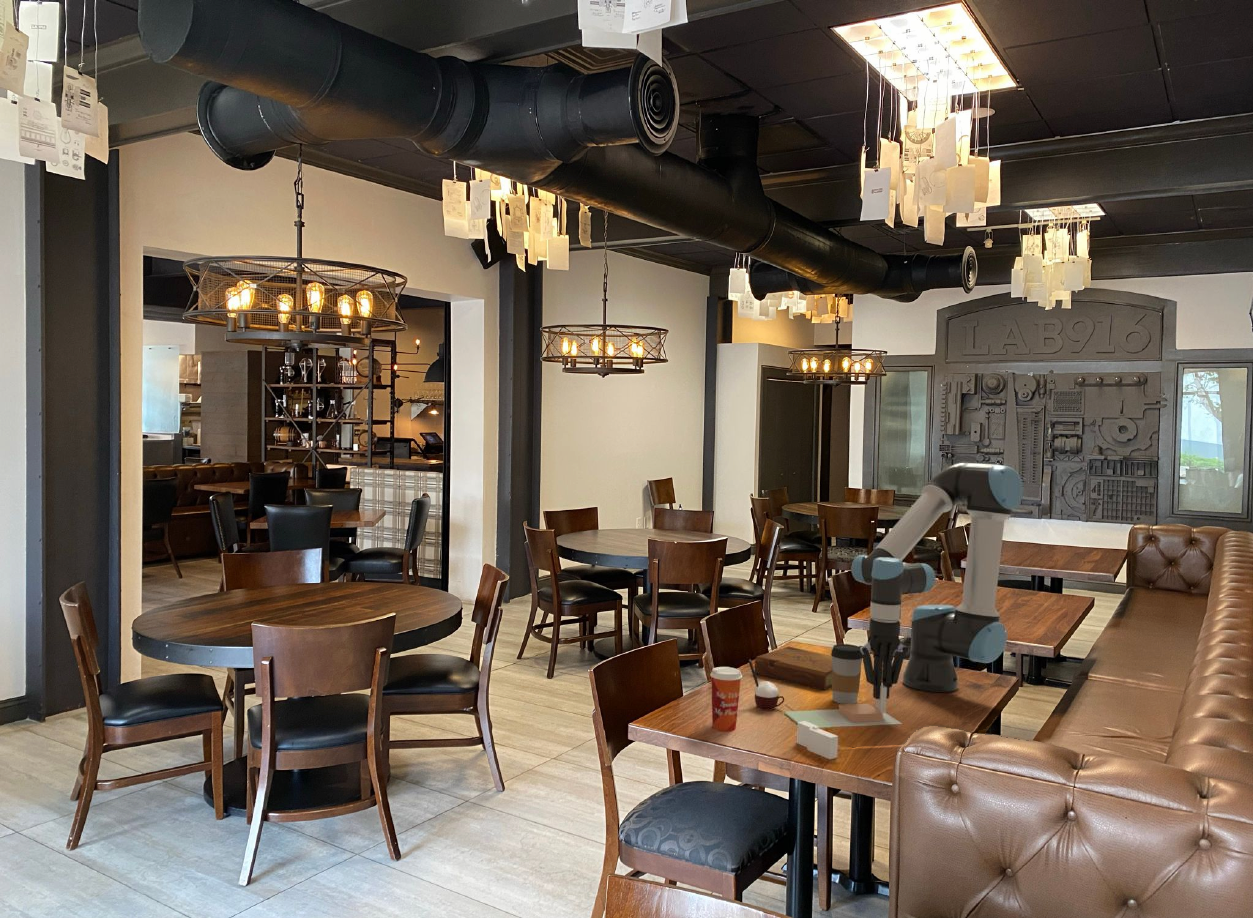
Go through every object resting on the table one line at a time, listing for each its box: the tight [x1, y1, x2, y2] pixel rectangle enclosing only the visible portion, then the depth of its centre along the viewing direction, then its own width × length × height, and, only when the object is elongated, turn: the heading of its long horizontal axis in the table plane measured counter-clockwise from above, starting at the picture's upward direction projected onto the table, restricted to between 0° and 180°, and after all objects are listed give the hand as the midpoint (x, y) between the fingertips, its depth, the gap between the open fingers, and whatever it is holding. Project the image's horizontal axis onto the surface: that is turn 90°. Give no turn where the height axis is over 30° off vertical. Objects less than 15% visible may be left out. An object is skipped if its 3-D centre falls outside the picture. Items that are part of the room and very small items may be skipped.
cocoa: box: [748, 659, 785, 711], centre depth 250 cm, size 10×6×12 cm, turn 55°
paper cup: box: [710, 666, 743, 732], centre depth 233 cm, size 8×8×14 cm
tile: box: [838, 703, 883, 722], centre depth 244 cm, size 2×8×8 cm
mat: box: [783, 708, 903, 729], centre depth 242 cm, size 26×13×1 cm, turn 103°
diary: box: [754, 646, 832, 691], centre depth 282 cm, size 23×19×6 cm
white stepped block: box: [796, 721, 839, 760], centre depth 220 cm, size 15×11×6 cm
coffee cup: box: [830, 643, 863, 705], centre depth 256 cm, size 8×8×15 cm
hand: (880, 711), depth 245 cm, fingers closed
